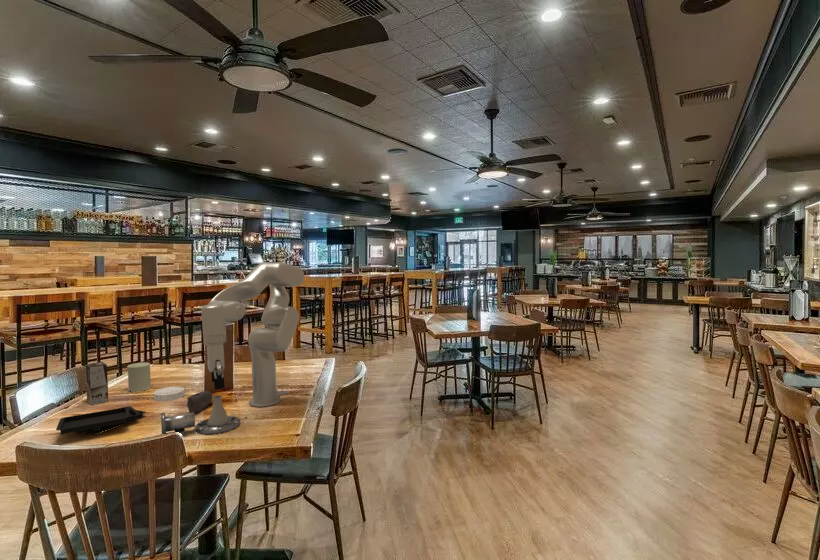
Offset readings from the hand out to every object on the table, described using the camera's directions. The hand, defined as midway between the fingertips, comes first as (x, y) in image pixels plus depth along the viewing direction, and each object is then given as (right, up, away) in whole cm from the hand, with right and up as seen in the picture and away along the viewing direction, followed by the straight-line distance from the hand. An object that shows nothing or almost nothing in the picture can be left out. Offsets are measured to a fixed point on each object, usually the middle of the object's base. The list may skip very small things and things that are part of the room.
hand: (218, 384), depth 157 cm
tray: (-42, -16, 0) cm, 45 cm away
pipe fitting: (-4, -15, -2) cm, 16 cm away
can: (-58, -13, +47) cm, 75 cm away
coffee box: (-65, -15, +30) cm, 73 cm away
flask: (0, -14, 0) cm, 14 cm away
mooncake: (-37, -14, +34) cm, 52 cm away
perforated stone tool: (-15, -15, +19) cm, 28 cm away
